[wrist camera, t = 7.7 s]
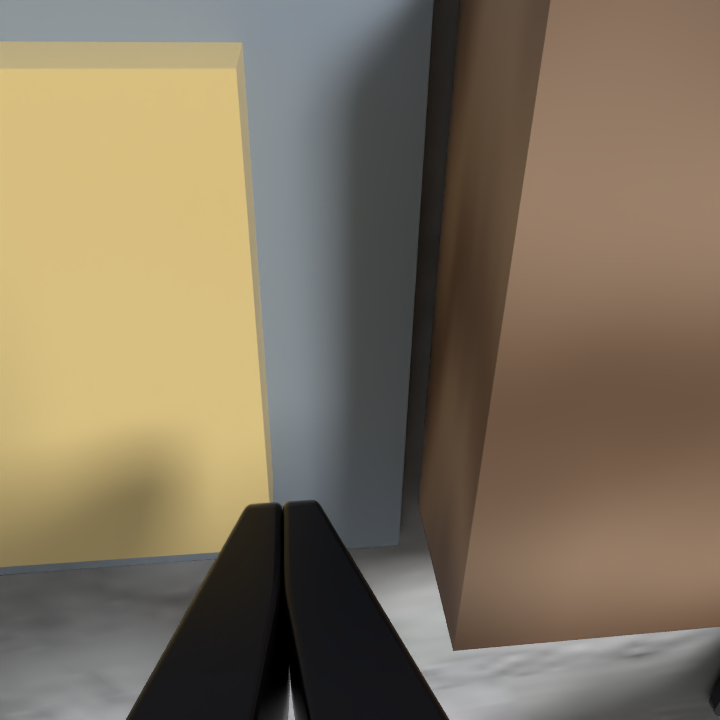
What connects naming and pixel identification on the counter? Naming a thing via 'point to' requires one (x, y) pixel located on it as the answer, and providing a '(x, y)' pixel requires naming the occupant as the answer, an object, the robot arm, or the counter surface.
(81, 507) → the pale yellow rectangular block
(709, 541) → the brown box
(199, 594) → the robot arm
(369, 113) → the mat
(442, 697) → the counter surface
